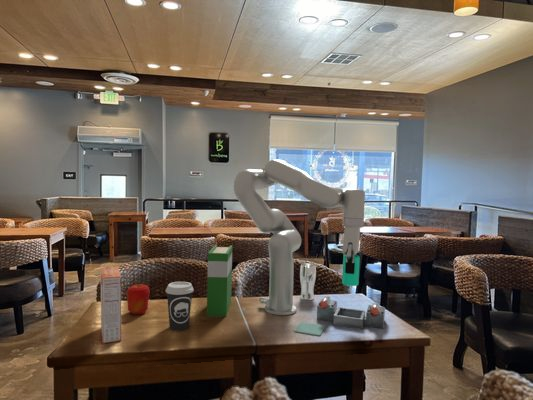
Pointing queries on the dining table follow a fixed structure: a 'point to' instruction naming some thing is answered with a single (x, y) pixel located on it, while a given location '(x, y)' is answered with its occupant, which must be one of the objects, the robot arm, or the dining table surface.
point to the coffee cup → (179, 304)
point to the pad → (309, 328)
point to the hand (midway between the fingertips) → (350, 271)
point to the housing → (351, 316)
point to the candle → (351, 278)
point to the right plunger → (375, 309)
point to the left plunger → (324, 302)
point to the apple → (138, 298)
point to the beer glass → (307, 280)
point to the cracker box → (110, 304)
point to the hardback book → (219, 281)
